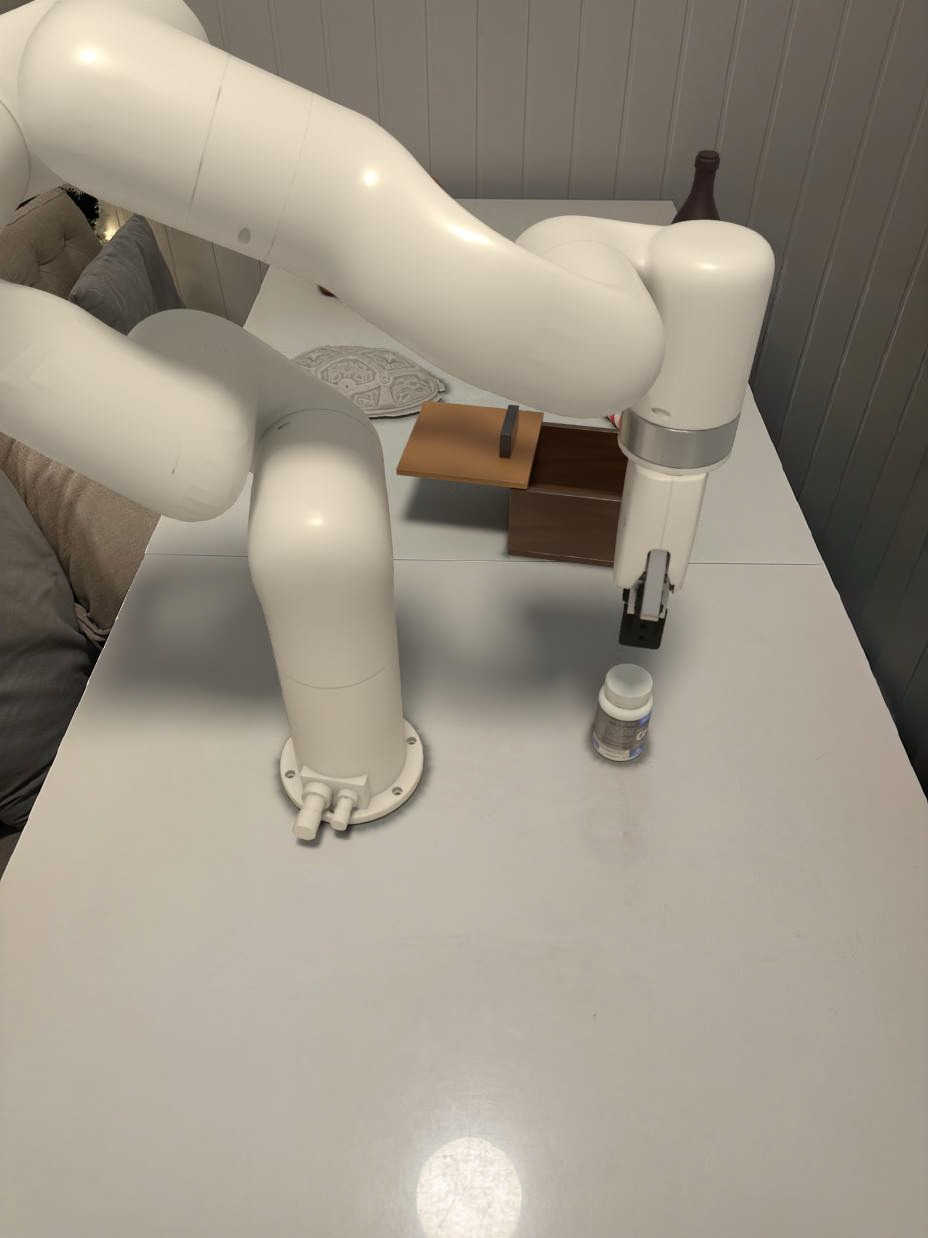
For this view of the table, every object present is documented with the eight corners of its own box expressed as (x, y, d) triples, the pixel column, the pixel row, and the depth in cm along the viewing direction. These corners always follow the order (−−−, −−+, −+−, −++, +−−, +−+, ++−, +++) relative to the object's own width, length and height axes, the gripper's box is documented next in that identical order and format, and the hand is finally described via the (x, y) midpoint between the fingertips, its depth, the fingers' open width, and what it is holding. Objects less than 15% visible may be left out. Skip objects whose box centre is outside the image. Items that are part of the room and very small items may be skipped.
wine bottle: (649, 394, 127) (685, 163, 106) (640, 368, 132) (673, 143, 111) (699, 393, 127) (745, 163, 106) (688, 367, 132) (731, 143, 111)
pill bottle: (642, 766, 81) (656, 705, 76) (589, 758, 82) (599, 696, 76) (645, 725, 85) (659, 663, 79) (594, 717, 85) (604, 655, 80)
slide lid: (527, 489, 95) (528, 458, 93) (396, 475, 97) (394, 444, 95) (543, 418, 105) (545, 388, 103) (424, 406, 107) (423, 376, 104)
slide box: (630, 569, 101) (641, 503, 94) (507, 554, 102) (510, 488, 96) (636, 496, 110) (646, 431, 104) (524, 483, 112) (527, 419, 106)
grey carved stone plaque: (279, 354, 133) (274, 313, 128) (449, 371, 133) (451, 330, 127) (252, 421, 124) (245, 379, 118) (436, 440, 123) (437, 399, 117)
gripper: (627, 357, 67) (601, 550, 79) (611, 493, 55) (583, 695, 67) (732, 366, 66) (689, 561, 78) (739, 507, 54) (686, 709, 67)
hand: (640, 621), depth 73 cm, fingers open, 4 cm apart
